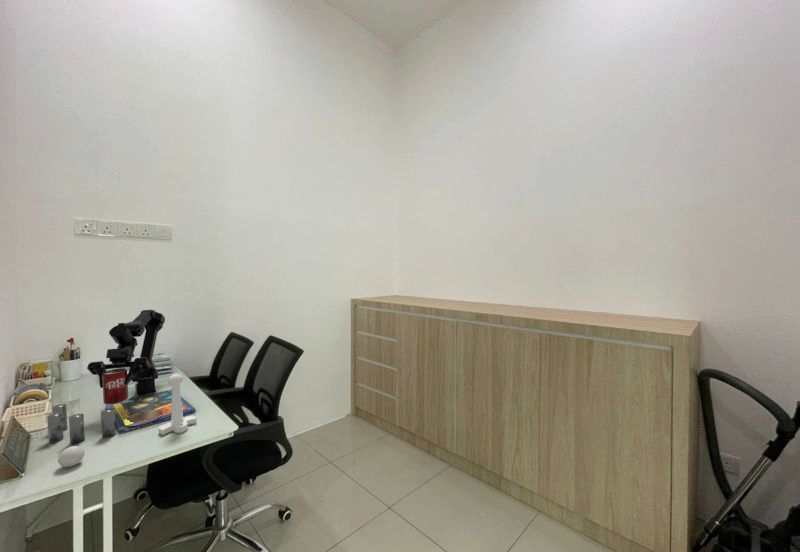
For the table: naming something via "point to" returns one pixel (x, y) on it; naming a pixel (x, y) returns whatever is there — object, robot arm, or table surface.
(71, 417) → the posts
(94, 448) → the table surface
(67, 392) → the table surface
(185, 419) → the joystick
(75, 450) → the white egg
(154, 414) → the walnut pad
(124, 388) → the soda can
